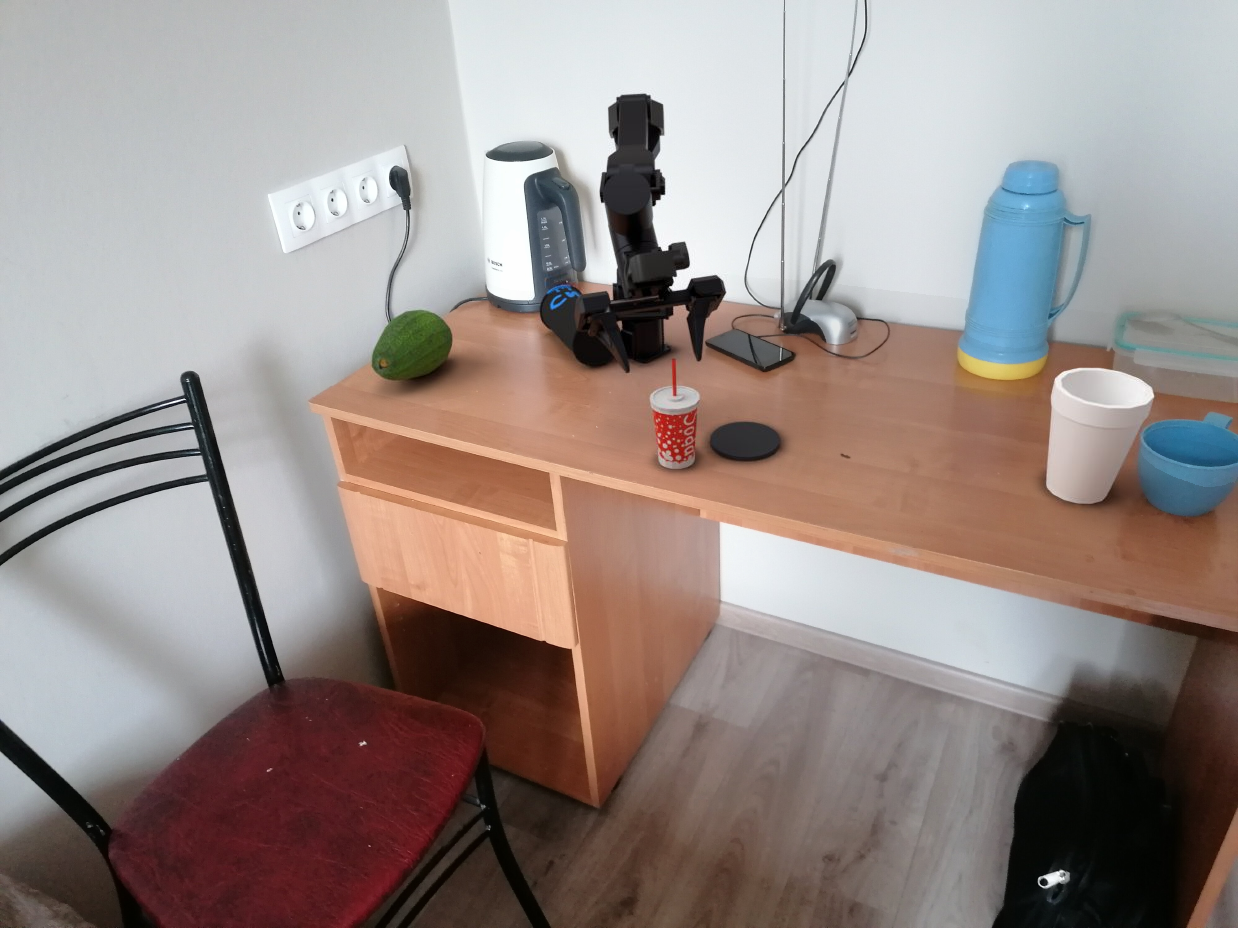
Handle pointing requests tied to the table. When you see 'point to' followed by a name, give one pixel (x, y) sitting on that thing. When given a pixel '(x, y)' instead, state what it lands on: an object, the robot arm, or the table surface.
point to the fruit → (412, 345)
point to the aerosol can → (572, 326)
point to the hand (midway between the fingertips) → (664, 366)
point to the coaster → (745, 441)
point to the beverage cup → (675, 423)
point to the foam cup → (1092, 430)
